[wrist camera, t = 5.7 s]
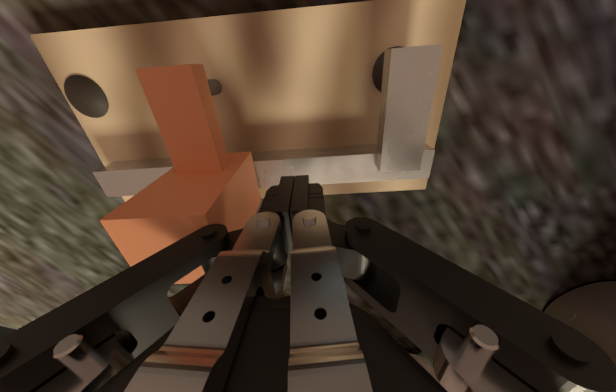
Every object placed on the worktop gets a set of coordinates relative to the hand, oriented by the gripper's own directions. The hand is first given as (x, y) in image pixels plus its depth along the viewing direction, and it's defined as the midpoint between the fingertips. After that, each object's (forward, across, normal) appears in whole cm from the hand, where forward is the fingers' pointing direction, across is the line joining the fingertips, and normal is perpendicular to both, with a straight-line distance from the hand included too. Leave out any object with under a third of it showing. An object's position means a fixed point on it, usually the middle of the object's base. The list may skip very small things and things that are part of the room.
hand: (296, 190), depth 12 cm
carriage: (+5, +5, -2) cm, 7 cm away
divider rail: (+5, +3, -3) cm, 6 cm away
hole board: (+6, +3, -3) cm, 7 cm away
